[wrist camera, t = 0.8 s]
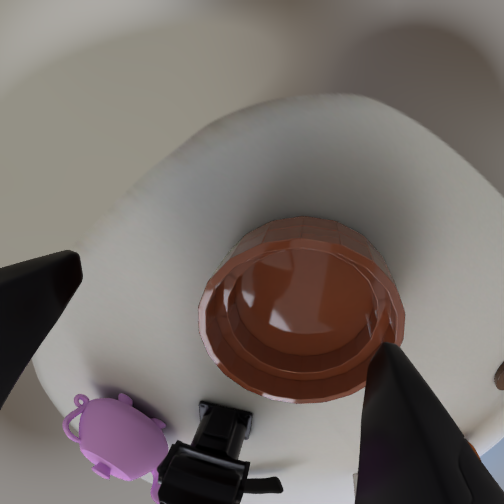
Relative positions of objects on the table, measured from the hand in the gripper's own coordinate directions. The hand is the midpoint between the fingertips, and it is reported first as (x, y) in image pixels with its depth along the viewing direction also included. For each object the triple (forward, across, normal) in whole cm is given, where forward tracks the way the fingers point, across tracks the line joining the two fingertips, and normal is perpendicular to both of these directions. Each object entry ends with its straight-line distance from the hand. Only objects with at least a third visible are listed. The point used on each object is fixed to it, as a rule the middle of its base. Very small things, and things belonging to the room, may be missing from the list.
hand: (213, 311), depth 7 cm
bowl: (+14, -4, +9) cm, 17 cm away
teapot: (+12, +13, +39) cm, 43 cm away
